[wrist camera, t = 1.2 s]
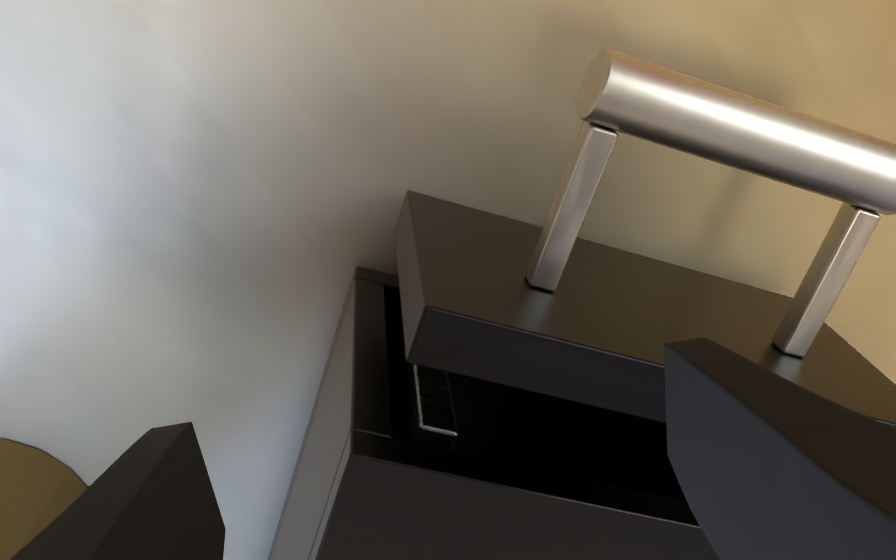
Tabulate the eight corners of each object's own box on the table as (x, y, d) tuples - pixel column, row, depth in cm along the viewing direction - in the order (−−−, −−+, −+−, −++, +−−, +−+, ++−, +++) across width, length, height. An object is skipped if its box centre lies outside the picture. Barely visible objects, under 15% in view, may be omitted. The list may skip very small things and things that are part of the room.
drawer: (468, -9, 19) (519, 27, 13) (886, 132, 21) (1102, 221, 15) (281, 592, 25) (253, 809, 19) (615, 649, 28) (687, 859, 22)
